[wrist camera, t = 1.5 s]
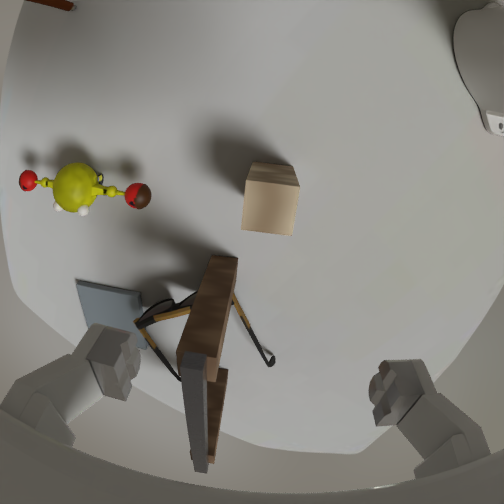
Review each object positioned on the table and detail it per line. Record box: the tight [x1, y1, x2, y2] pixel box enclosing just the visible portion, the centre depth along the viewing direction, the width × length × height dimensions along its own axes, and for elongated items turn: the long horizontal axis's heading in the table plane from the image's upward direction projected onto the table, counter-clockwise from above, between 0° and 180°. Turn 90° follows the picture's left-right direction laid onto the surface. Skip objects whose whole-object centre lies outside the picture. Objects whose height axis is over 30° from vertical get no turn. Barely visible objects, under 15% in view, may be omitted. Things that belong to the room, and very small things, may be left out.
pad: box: [76, 281, 148, 349], centre depth 39 cm, size 10×10×1 cm
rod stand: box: [176, 255, 238, 464], centre depth 32 cm, size 3×22×15 cm, turn 174°
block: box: [241, 162, 300, 236], centre depth 26 cm, size 4×4×8 cm
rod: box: [180, 351, 209, 473], centre depth 25 cm, size 2×23×2 cm, turn 174°
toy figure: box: [19, 162, 151, 216], centre depth 27 cm, size 18×6×7 cm, turn 80°
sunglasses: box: [133, 291, 275, 382], centre depth 37 cm, size 14×15×5 cm
